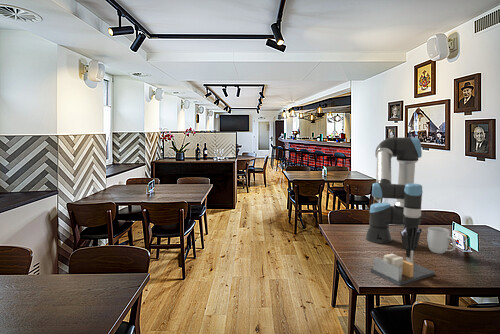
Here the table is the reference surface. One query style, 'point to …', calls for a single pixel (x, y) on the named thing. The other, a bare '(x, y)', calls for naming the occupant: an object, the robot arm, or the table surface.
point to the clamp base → (406, 279)
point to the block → (394, 260)
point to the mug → (439, 240)
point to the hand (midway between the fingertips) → (409, 263)
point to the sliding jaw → (407, 268)
